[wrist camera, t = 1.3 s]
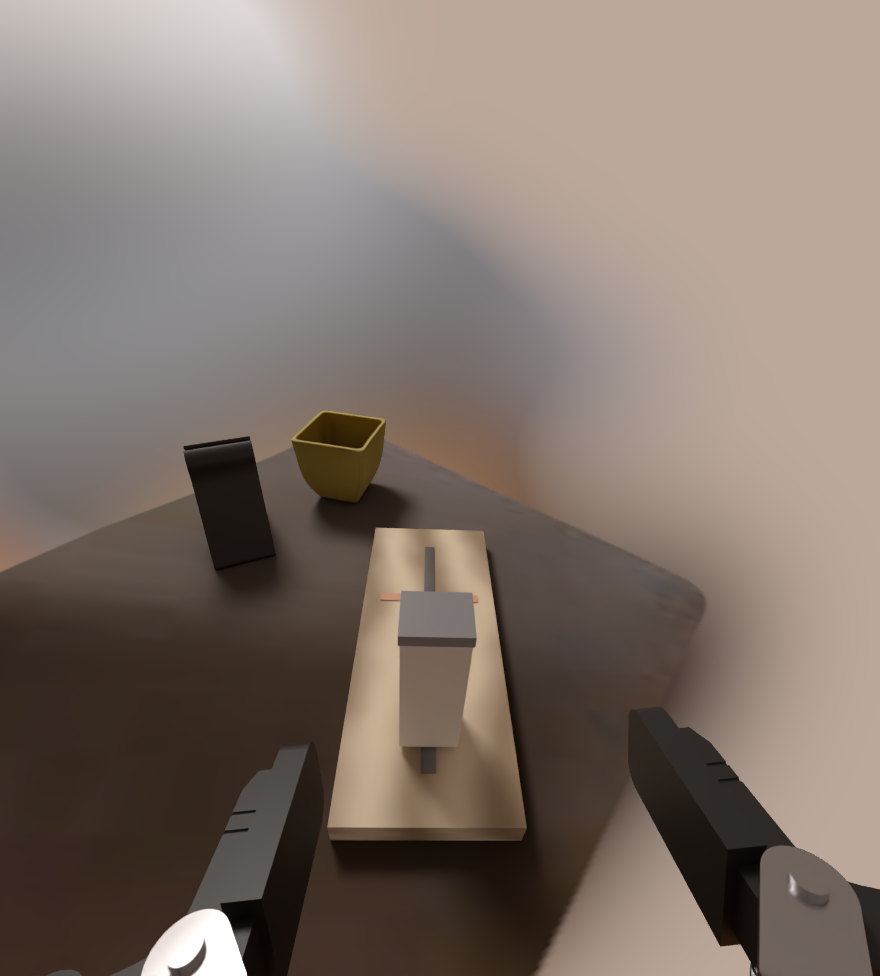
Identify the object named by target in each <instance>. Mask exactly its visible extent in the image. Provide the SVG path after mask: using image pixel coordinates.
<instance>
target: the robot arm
mask: <svg viewBox="0 0 880 976" xmlns="http://www.w3.org/2000/svg"><path fill="white" fill-rule="evenodd" d="M628 763H629V769H630V773H631V777H632V780H633V783H634V785H635V788H636V790H637V792H638V794H639V795H640V797H641V799H642V801H643V803H644V805H645V806H646V808H647V810H648V812H649V814H650V816H651V818H652V820H653V821H654V823H655V825H656V827H657V829H658V831H659V833H660V834H661V836H662V838H663V840H664V842H665V843H666V846H667V848H668V850H669V851H670V853H671V855H672V857H673V859H674V861H675V863H676V865H677V866H678V868H679V870H680V872H681V874H682V875H683V877H684V879H685V881H686V883H687V885H688V887H689V889H690V891H691V892H692V894H693V896H694V898H695V900H696V902H697V904H698V905H699V907H700V909H701V911H702V913H703V915H704V917H705V919H706V920H707V922H708V924H709V926H710V928H711V930H712V932H713V934H714V935H715V937H716V939H717V941H718V943H719V945H720V946H729V945H738V944H741V946H742V948H743V949H744V951H745V953H746V955H747V956H748V958H749V960H750V961H751V965H750V976H880V889H875V888H870V887H866V886H861V885H857V884H854V883H850V882H848V881H846V880H845V878H844V877H843V876H842V875H841V874H840V873H839V872H838V871H837V870H835V869H834V868H833V867H832V866H831V865H829V864H828V863H826V862H825V861H824V860H822V859H820V858H819V857H817V856H815V855H814V854H811V853H809V852H807V851H805V850H802V849H799V848H796V847H795V846H794V845H793V844H792V842H791V841H790V840H789V839H788V837H787V836H786V835H785V834H784V833H783V831H782V830H781V829H780V828H779V826H778V825H777V824H776V823H775V822H774V820H773V819H772V818H771V817H770V815H769V814H768V813H767V812H766V811H765V809H764V808H763V807H762V806H761V804H760V803H759V802H758V801H757V800H756V798H755V797H754V796H753V794H752V793H751V792H750V791H749V790H748V788H747V787H746V786H745V785H744V783H743V782H740V781H739V778H738V776H737V775H736V774H735V772H734V771H733V770H732V769H731V768H730V766H729V765H727V764H726V761H725V760H724V759H723V758H722V756H721V755H720V754H719V753H718V751H717V750H716V749H715V748H714V747H713V745H712V744H711V743H710V742H709V741H707V740H706V739H705V738H703V737H702V736H700V735H699V734H698V733H696V732H695V731H693V730H692V729H691V728H689V727H687V728H678V727H677V725H676V724H675V723H674V721H673V720H672V719H671V717H670V716H669V715H668V713H667V712H666V711H665V710H664V709H663V708H662V707H653V708H643V709H634V710H631V711H630V712H629V735H628ZM323 809H324V794H323V786H322V780H321V775H320V769H319V763H318V757H317V751H316V746H315V743H314V742H302V743H292V744H284V745H282V746H281V748H280V750H279V753H278V755H277V758H276V760H275V763H274V765H273V768H272V769H271V770H261V771H259V772H258V773H257V774H256V775H255V776H254V777H253V779H252V780H251V781H250V782H249V783H248V784H247V785H246V787H245V788H244V789H243V790H242V792H241V795H240V797H239V799H238V801H237V804H236V806H235V808H234V810H233V815H232V817H230V820H229V822H228V824H227V826H226V829H225V833H224V835H222V838H221V840H220V842H219V845H218V847H217V849H216V851H215V854H214V856H213V858H212V860H211V863H210V865H209V867H208V869H207V872H206V874H205V876H204V879H203V881H202V883H201V885H200V888H199V890H198V892H197V894H196V897H195V899H194V901H193V904H192V906H191V908H190V910H189V912H188V914H187V916H185V917H184V918H182V919H181V920H179V921H178V922H177V923H175V924H174V925H173V926H172V927H171V928H169V929H168V930H167V931H166V932H165V933H164V934H163V936H162V937H161V938H160V939H159V940H158V942H157V943H156V944H155V946H154V947H153V949H152V950H151V952H150V954H149V956H148V957H147V958H145V959H144V960H142V961H140V962H138V963H136V964H134V965H132V966H130V967H128V968H126V969H124V970H122V971H119V972H117V973H115V974H113V975H111V976H287V973H288V969H289V965H290V960H291V956H292V951H293V947H294V942H295V938H296V934H297V929H298V925H299V920H300V916H301V912H302V907H303V903H304V898H305V894H306V890H307V885H308V881H309V876H310V872H311V867H312V863H313V859H314V854H315V850H316V845H317V841H318V837H319V832H320V828H321V823H322V818H323ZM46 976H82V975H81V974H80V973H78V972H76V971H74V970H61V971H57V972H53V973H51V974H49V975H46Z"/></svg>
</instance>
